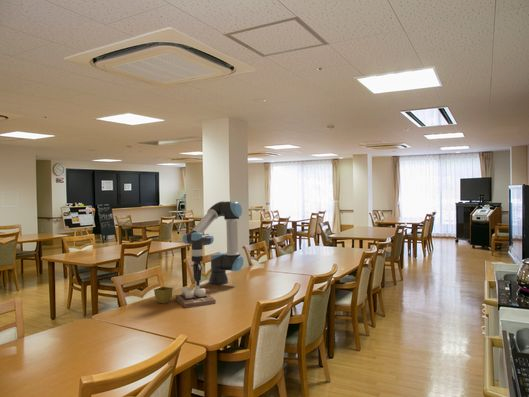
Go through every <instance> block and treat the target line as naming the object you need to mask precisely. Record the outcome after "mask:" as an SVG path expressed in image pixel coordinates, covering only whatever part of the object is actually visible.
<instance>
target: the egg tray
mask: <svg viewBox="0 0 529 397" xmlns="http://www.w3.org/2000/svg"><path fill="white" fill-rule="evenodd" d="M174 296H175V297H174V298H175V300H176V301H177V302H178V303H179V304H180V305H182V306H183V307H184V308H186V309H187V308H193V307H200V306H206V305H213V304H214V305H215V304H216V299H215V298H214V297H213V296H210V294H208V293H207V292H205V296H203V297H198V296H194V297H193V298H185V295H182V293H181V294H175V295H174Z"/></svg>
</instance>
